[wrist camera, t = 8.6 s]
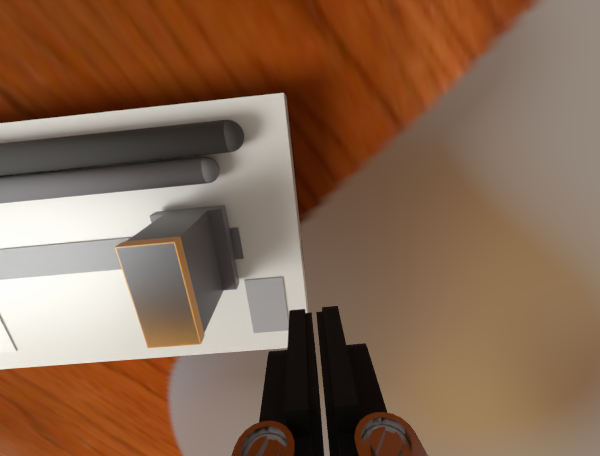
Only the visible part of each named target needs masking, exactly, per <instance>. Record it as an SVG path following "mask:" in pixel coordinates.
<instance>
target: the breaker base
mask: <svg viewBox="0 0 600 456" xmlns="http://www.w3.org/2000/svg"><path fill="white" fill-rule="evenodd" d="M221 205H225V208H226V213H227V219H228V224H229V229H230V235H231V240H232V246H233V251H234V256H235V262H236V267H237V272H238V278H239V285H238V288H237V289H235V290H224V291H223V293H222V295H221V297H220V300H219V302H218V304H217V306H216V308H215V311H214V313H213V315H212V317H211V319H210V322H209V324H208V326H207V328H206V331H205V333H204V334H205V336H204V339H203V341H202V343H201V344H199V345H186V346H173V347H159V348H147V345H146V342H145V339H144V335H143V332H142V329H141V326H140V323H139V320H138V317H137V314H136V311H135V308H134V305H133V302H132V299H131V296H130V293H129V290H128V287H127V283H126V280H125V277H124V274H123V271H122V268H121V265H120V262H119V259H118V256H117V253H116V250H115V247H116V246H117V245H119V244H120V243H121V242H124V241H127V240H129V239H130V238H131V237H133V236H134V235H136V234H137V233H138V232H140V231H141V230H143V229H144V228H145V227H147V226H148V225H150V224H151V220H150V215H152V214H153V213H155V212H157V211H168V210H178V209H189V208H200V207H210V206H221ZM303 260H304V259H303V250H302V241H301V231H300V221H299V212H298V202H297V192H296V183H295V173H294V164H293V154H292V145H291V135H290V125H289V116H288V106H287V97H286V95H285V94H284V93H277V94H267V95H258V96H249V97H240V98H230V99H221V100H212V101H202V102H193V103H184V104H175V105H165V106H156V107H147V108H138V109H128V110H119V111H110V112H101V113H91V114H82V115H73V116H64V117H54V118H45V119H36V120H27V121H17V122H8V123H0V369H10V368H24V367H37V366H50V365H64V364H77V363H90V362H104V361H117V360H131V359H144V358H157V357H171V356H184V355H198V354H211V353H224V352H238V351H251V350H264V349H277V348H288V328H289V311H290V310H298V309H305V312H306V313H309V307H308V298H307V288H306V279H305V269H304V261H303Z"/></svg>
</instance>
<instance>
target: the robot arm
mask: <svg viewBox="0 0 600 456" xmlns="http://www.w3.org/2000/svg"><path fill="white" fill-rule="evenodd" d="M317 324H318V334H319V345H320V355H321V366H322V376H323V387H324V396H325V407H326V418H327V429H328V439H329V450H330V456H428V455H427V453H426V451H425V449H424V448H423V446H422V444H421V442H420V440H419V439H418V437H417V435H416V433H415V432H414V430H413V429H412V427H411V426H410V425H409V424H408V423H407V422H406V421H404V420H403V419H402V418H400V417H398V416H396V415H394V414H390V413H387V410H386V407H385V404H384V400H383V397H382V394H381V391H380V388H379V384H378V381H377V378H376V374H375V371H374V368H373V365H372V362H371V358H370V355H369V352H368V349H367V346H366V344H353V345H346V342H345V338H344V333H343V329H342V324H341V320H340V315H339V310H338V306H332V307H323V308H322V312H317ZM232 456H324V449H323V436H322V422H321V409H320V397H319V384H318V373H317V363H316V353H315V343H314V333H313V323H312V313H306V312H305V309H298V310H290V311H289V328H288V349H287V350H282V351H271V352H269V354H268V360H267V368H266V375H265V383H264V391H263V397H262V405H261V412H260V420H259V423H257V424H254V425H252V426H251V427H250V428H248V429H247V430H245V432H244V433H243V434H242V435H241V436H240V437H239V439H238V441H237V443H236V445H235V447H234V450H233V453H232Z"/></svg>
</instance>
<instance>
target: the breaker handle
mask: <svg viewBox="0 0 600 456" xmlns="http://www.w3.org/2000/svg"><path fill="white" fill-rule="evenodd" d="M150 220H151V224H150V225H148V226H147V227H145V228H144V229H143V230H141V231H140V232H138V233H137V234H136V235H134V236H133V237H131V238H130V239H129V240H127V241H124V242H121V243H120V244H119V245H117V246H116V247H115V250H116V253H117V256H118V259H119V262H120V265H121V268H122V271H123V274H124V277H125V280H126V283H127V287H128V290H129V293H130V296H131V299H132V302H133V305H134V308H135V311H136V314H137V317H138V320H139V323H140V326H141V329H142V332H143V335H144V339H145V342H146V345H147V348H159V347H173V346H186V345H199V344H201V343H202V341H203V339H204V336H205V334H204V333H205V331H206V328H207V326H208V324H209V322H210V319H211V317H212V315H213V313H214V311H215V308H216V306H217V304H218V302H219V300H220V297H221V295H222V293H223V291H224V290H235V289H237V288H238V285H239V278H238V272H237V267H236V262H235V256H234V251H233V246H232V240H231V235H230V229H229V224H228V219H227V213H226V208H225V205H221V206H210V207H200V208H189V209H178V210H168V211H157V212H155V213H153V214H152V215H150Z"/></svg>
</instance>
